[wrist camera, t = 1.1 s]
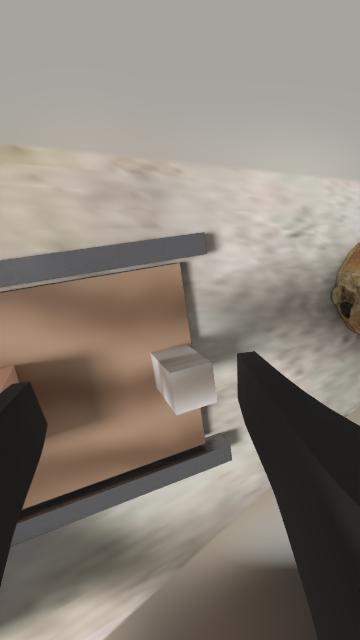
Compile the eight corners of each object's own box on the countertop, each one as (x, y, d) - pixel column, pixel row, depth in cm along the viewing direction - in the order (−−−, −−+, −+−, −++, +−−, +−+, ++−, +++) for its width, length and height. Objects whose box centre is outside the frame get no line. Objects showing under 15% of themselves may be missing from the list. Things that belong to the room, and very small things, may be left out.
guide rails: (221, 447, 30) (232, 460, 28) (-104, 569, 22) (-119, 596, 20) (194, 234, 25) (204, 232, 24) (-227, 293, 18) (-262, 296, 16)
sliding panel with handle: (201, 437, 29) (233, 479, 23) (-115, 549, 22) (-178, 648, 16) (175, 263, 25) (206, 263, 20) (-215, 327, 18) (-341, 356, 12)
